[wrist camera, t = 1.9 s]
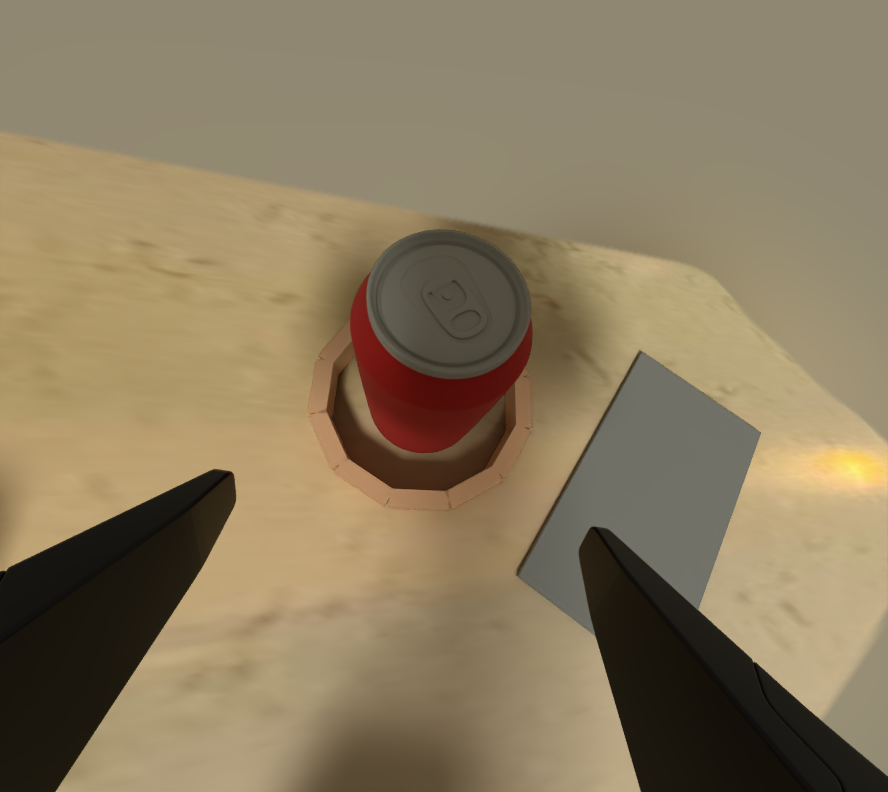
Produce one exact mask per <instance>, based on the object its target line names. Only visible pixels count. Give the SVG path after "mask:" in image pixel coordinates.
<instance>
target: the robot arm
mask: <svg viewBox="0 0 888 792" xmlns="http://www.w3.org/2000/svg"><path fill="white" fill-rule="evenodd" d="M235 502H236V488H235V478H234V474H233V473H232V472H231V471H226V470H219V469H213V470H211V471H208V472H206V473H204V474H202V475H200V476H198V477H196V478H194V479H192V480H190V481H188V482H185V483H183V484H181V485H179V486H177V487H175V488H173V489H171V490H169V491H167V492H165V493H163V494H161V495H158V496H156V497H154V498H152V499H150V500H148V501H146V502H144V503H142V504H140V505H138V506H136V507H134V508H131V509H129V510H127V511H125V512H123V513H121V514H119V515H117V516H115V517H113V518H111V519H109V520H107V521H104V522H102V523H100V524H98V525H96V526H94V527H92V528H90V529H88V530H86V531H84V532H82V533H79V534H77V535H75V536H73V537H71V538H69V539H67V540H65V541H63V542H61V543H59V544H57V545H55V546H52V547H50V548H48V549H46V550H44V551H42V552H40V553H38V554H36V555H34V556H32V557H30V558H28V559H25V560H23V561H21V562H19V563H17V564H15V565H13V566H11V567H9V568H8V569H7V570H6V571H0V792H56V790H57V789H58V787H59V786H60V784H61V783H62V781H63V780H64V778H65V776H66V775H67V773H68V772H69V770H70V769H71V767H72V766H73V764H74V763H75V761H76V760H77V758H78V757H79V755H80V754H81V752H82V751H83V749H84V747H85V746H86V744H87V743H88V741H89V740H90V738H91V737H92V735H93V734H94V732H95V731H96V729H97V728H98V726H99V725H100V723H101V722H102V720H103V719H104V717H105V715H106V714H107V712H108V711H109V709H110V708H111V706H112V705H113V703H114V702H115V700H116V699H117V697H118V696H119V694H120V693H121V691H122V690H123V688H124V686H125V685H126V683H127V682H128V680H129V679H130V677H131V676H132V674H133V673H134V671H135V670H136V668H137V667H138V665H139V664H140V662H141V661H142V659H143V657H144V656H145V654H146V653H147V651H148V650H149V648H150V647H151V645H152V644H153V642H154V641H155V639H156V638H157V636H158V635H159V633H160V632H161V630H162V629H163V627H164V625H165V624H166V622H167V621H168V619H169V618H170V616H171V615H172V613H173V612H174V610H175V609H176V607H177V606H178V604H179V603H180V601H181V600H182V598H183V596H184V595H185V593H186V592H187V590H188V589H189V587H190V586H191V584H192V583H193V581H194V580H195V578H196V577H197V575H198V573H199V572H200V570H201V569H202V567H203V565H204V563H205V561H206V560H207V558H208V556H209V554H210V552H211V550H212V548H213V546H214V544H215V542H216V540H217V539H218V537H219V535H220V533H221V531H222V529H223V527H224V525H225V523H226V521H227V519H228V517H229V515H230V514H231V512H232V510H233V508H234V505H235ZM578 554H579V561H580V566H581V572H582V577H583V582H584V587H585V593H586V598H587V603H588V608H589V613H590V617H591V621H592V625H593V629H594V632H595V635H596V639H597V642H598V646H599V649H600V653H601V656H602V659H603V663H604V666H605V670H606V673H607V677H608V680H609V684H610V687H611V690H612V694H613V697H614V701H615V704H616V708H617V711H618V714H619V718H620V721H621V725H622V728H623V732H624V735H625V738H626V742H627V745H628V749H629V752H630V756H631V759H632V763H633V766H634V769H635V773H636V776H637V780H638V783H639V787H640V790H641V792H888V776H887V775H885V774H884V773H883V772H882V771H881V770H880V769H878V768H877V767H876V766H875V765H873V764H872V763H871V762H870V761H869V760H867V759H866V758H865V757H864V756H863V755H862V754H860V753H859V752H858V751H857V750H856V749H854V748H853V747H852V746H850V744H848V743H847V742H846V741H845V740H844V739H842V738H841V737H840V736H839V735H838V734H836V733H835V732H834V731H833V730H832V729H830V728H829V727H828V726H827V725H826V724H825V723H824V722H822V721H821V720H820V719H819V718H818V717H817V716H815V715H814V714H813V713H812V712H811V711H809V710H808V709H807V708H806V707H805V706H804V705H803V704H802V703H800V702H799V701H798V700H797V699H796V698H795V697H794V696H793V695H791V694H790V693H789V692H788V691H787V690H786V689H785V688H784V687H782V686H781V685H780V684H779V683H778V682H777V681H776V680H775V679H773V678H772V677H771V676H770V675H769V674H768V673H767V672H766V671H765V670H764V669H763V668H761V667H760V666H759V665H758V664H757V663H755V662H753V660H752V659H751V658H750V657H749V656H748V655H747V654H746V653H745V652H744V651H743V650H741V649H740V648H739V647H738V646H737V645H736V644H735V643H734V642H733V641H732V640H730V639H729V638H728V637H727V636H726V635H725V634H724V633H723V632H722V631H721V630H719V629H718V628H717V627H716V626H715V625H714V624H713V623H712V622H711V621H710V620H708V619H707V618H706V617H705V616H704V615H703V614H702V613H701V612H700V611H699V610H697V609H696V608H695V607H694V606H693V605H692V604H691V603H690V602H689V601H688V600H686V599H685V598H684V597H683V596H682V595H681V594H680V593H679V592H678V591H677V590H675V589H674V588H673V587H672V586H671V585H670V584H669V583H668V582H667V581H665V580H664V579H663V578H662V577H661V576H660V575H659V574H658V573H657V572H656V571H654V570H653V569H652V568H651V567H650V566H649V565H648V564H647V563H646V562H645V561H643V560H642V559H641V558H640V557H639V556H638V555H637V554H636V553H635V552H634V551H632V550H631V549H630V548H629V547H628V546H627V545H626V544H625V543H624V542H623V541H621V540H620V539H619V538H618V537H617V536H616V535H615V534H614V533H613V532H612V531H610V530H609V529H607V528H603V527H597V526H592V527H591V528H589V530H588V532H587V534H586V536H585V537H584V539H583V541H582V543H581V545H580V547H579V552H578Z"/></svg>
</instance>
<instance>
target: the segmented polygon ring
mask: <svg viewBox="0 0 888 792" xmlns="http://www.w3.org/2000/svg"><path fill="white" fill-rule="evenodd" d="M318 356H319V358H320V359H316V363H315V369H314V374H313V380H312V386H311V392H310V398H309V404H308V410H307V412H308V413H309V414H310V416H308V418H309V420H310V423H311V425H312V427H313V430H314V432H315V434H316V437H317V439H318V441H319V443H320V446H321V448H322V450H323V453H324V455H325V457H326V460H327V462H328V464H329V467H330V469H332V470H333V471H335V472H334V473H335V474H336V475H338V476H339V477H341V478H342V479H344V480H345V481H347V482H348V483H349V484H351V485H352V486H354V487H355V488H357V489H358V490H360V491H361V492H363V493H364V494H366V495H367V496H369V497H370V498H372V499H373V500H375V501H376V502H378V503H379V504H381V505H382V506H384V507H385V505H386V504H387V502H388V501H389V508H398V509H423V510H448V511H449V509H455V508H457V507H458V506H460V505H462V504H464V503H465V502H467V501H469V500H471V499H472V498H474V497H476V496H478V495H480V494H481V493H483V492H485V491H487V490H488V489H490V488H492V487H494V486H495V485H497V484H499V483H501V482H503V481H502V479H505V478H506V477H507V476H508V474H509V472H510V470H511V468H512V466H513V465H514V463H515V461H516V459H517V457H518V455H519V454H520V452H521V450H522V448H523V446H524V444H525V443H526V441H527V439H528V437H529V435H530V433H531V431H529V429H531V428H532V408H531V385H530V378H529V377H526V376H527V375H528V374H529V373H528V371H527V370H526V368H524V370H523V372H522V373H521V375H520V377H519V378H518V379H517V380H516V382H515V383H514V384H513V385H512V386H511V387H510V388H509V390H508V391H507V392H506V393H505V405H506V432H505V434H504V436H503V437H502V439H501V441H500V443H499V444H498V446H497V448H496V450H495V451H494V453H493V455H492V457H491V458H490V460H489V462H488V464H487V465H486V467H485V469H484V470H483V471H481V472H479V473H477V474H475V475H474V476H472V477H470V478H468V479H466V480H464V481H463V482H461V483H459V484H457V485H455V486H453V487H452V488H450V489H448V490H446V491H433V490H411V489H392V488H391V487H389V486H388V485H386V484H385V483H383V482H382V481H380V480H379V479H377V478H376V477H374V476H373V475H371V474H370V473H368V472H367V471H365V470H364V469H362V468H361V467H360V466H358V465H357V464H355V463H354V462H352V461H351V460H350V458H349V456H348V453H347V451H346V449H345V447H344V445H343V442H342V440H341V438H340V436H339V433H338V431H337V429H336V427H335V424H334V422H333V420H332V418H333V411H334V404H335V397H336V390H337V383H338V376H339V374H340V373H341V371H342V370H343V369H344V368H345V367H346V365H347V364H348V363H349V362H350V361H351V359H352V358H353V357H354V356H355V351H354V347H353V343H352V339H351V332H350V319H349V320H348V321H347V322H346V323H345V325H344V326H343V327H342V328H341V329H340V330H339V332H338V333H337V334H336V335H335V336H334V337H333V338H332V340H331V341H330V342H329V343H328V344H327V345H326V346H325V348H324V349H323V350H322V351H321V352H320V353H319V354H318Z"/></svg>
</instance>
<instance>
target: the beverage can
mask: <svg viewBox="0 0 888 792" xmlns="http://www.w3.org/2000/svg"><path fill="white" fill-rule="evenodd" d="M350 332H351V339H352V343H353V347H354V351H355V356H356V360H357V364H358V368H359V373H360V376H361V380H362V384H363V388H364V392H365V395H366V399H367V402H368V406H369V409H370V412H371V415H372V418H373V421H374V423H375V425H376V426H377V428H378V430H379V431H380V432H381V433H382V435H383V436H384V437H385V438H386V439H387V440H389V441H390V442H391V443H393V444H394V445H396V446H398V447H400V448H402V449H404V450H407V451H411V452H416V453H433V452H438V451H441V450H444V449H446V448H448V447H450V446H452V445H454V444H455V443H456V442H458V441H459V440H460V439H461V438H462V437H463V436H464V435H465V434H467V433H468V432H469V431H470V430H471V429H472V428H473V427H474V426H475V425H476V424H477V423H478V422H479V421H480V420H481V418H482V417H483V416H484V415H485V414H486V413H487V412H488V411H489V410H490V409H491V408H492V407H493V406H494V405H495V404H496V403H497V402H498V401H499V399H500V398H501V397H502V396H503V395H504V394H505V393H506V392H507V391H508V390H509V388H510V387H511V386H512V385H513V384H514V383H515V382H516V380H517V379H518V378H519V377H520V375H521V373H522V372H523V370H524V368H525V366H526V364H527V361H528V359H529V355H530V352H531V346H532V322H531V302H530V295H529V291H528V288H527V285H526V282H525V280H524V278H523V276H522V274H521V273H520V271H519V269H518V268H517V267H516V265H515V264H514V263H513V262H512V260H511V259H510V258H509V257H508V256H507V255H506V254H504V253H503V252H502V251H501V250H500V249H498V248H497V247H495V246H494V245H492V244H491V243H489V242H487V241H485V240H483V239H481V238H479V237H477V236H474V235H471V234H468V233H465V232H460V231H454V230H428V231H423V232H418V233H415V234H412V235H409V236H407V237H405V238H403V239H401V240H399V241H397V242H396V243H394V244H393V245H392V246H390V247H389V248H388V249H387V250H386V251H385V252H384V253H383V254H382V255H381V256H380V257H379V259H378V260H377V261H376V263H375V265H374V267H373V269H372V271H371V272H370V274H369V275H368V276H367V277H366V278H365V280H364V281H363V283H362V284H361V286H360V288H359V290H358V292H357V294H356V296H355V299H354V301H353V305H352V309H351V315H350Z"/></svg>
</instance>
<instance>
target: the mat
mask: <svg viewBox="0 0 888 792" xmlns="http://www.w3.org/2000/svg"><path fill="white" fill-rule="evenodd" d="M760 435H761V432H759V431H758V430H756V429H755V428H753V427H752V426H750V425H749V424H747V423H746V422H745V421H743V420H742V419H740V418H739V417H737V416H736V415H734V414H733V413H731V412H730V411H728V410H727V409H725V408H724V407H722V406H721V405H720V404H718V403H717V402H715V401H714V400H712V399H711V398H709V397H708V396H706V395H705V394H703V393H702V392H700V391H699V390H697V389H696V388H694V387H693V386H692V385H690V384H689V383H687V382H686V381H684V380H683V379H681V378H680V377H678V376H677V375H675V374H674V373H672V372H671V371H669V370H668V369H667V368H665V367H664V366H662V365H661V364H659V363H658V362H656V361H655V360H653V359H652V358H650V357H649V356H647V355H646V354H644V353H643V352H641V353H640V354H639V355H638V357H637V359H636V361H635V363H634V364H633V366H632V368H631V370H630V372H629V373H628V375H627V377H626V379H625V381H624V382H623V384H622V386H621V388H620V390H619V391H618V393H617V395H616V397H615V399H614V400H613V402H612V404H611V406H610V408H609V409H608V411H607V413H606V415H605V417H604V418H603V420H602V422H601V424H600V426H599V427H598V429H597V431H596V433H595V435H594V436H593V438H592V440H591V442H590V444H589V445H588V447H587V449H586V451H585V453H584V454H583V456H582V458H581V460H580V462H579V463H578V465H577V467H576V469H575V471H574V472H573V474H572V476H571V478H570V480H569V482H568V483H567V485H566V487H565V489H564V491H563V492H562V494H561V496H560V498H559V500H558V501H557V503H556V505H555V507H554V509H553V510H552V512H551V514H550V516H549V518H548V519H547V521H546V523H545V525H544V527H543V528H542V530H541V532H540V534H539V536H538V537H537V539H536V541H535V543H534V545H533V546H532V548H531V550H530V552H529V554H528V555H527V557H526V559H525V561H524V563H523V564H522V566H521V568H520V570H519V572H518V573H517V575H516V576H518V577H519V578H520V579H522V580H523V581H524V582H526V583H527V584H528V585H530V586H531V587H532V588H533V589H535V590H536V591H537V592H539V593H540V594H541V595H543V596H544V597H545V598H547V599H548V600H549V601H550V602H552V603H553V604H554V605H556V606H557V607H558V608H560V609H561V610H562V611H564V612H565V613H566V614H568V615H569V616H570V617H571V618H573V619H574V620H575V621H577V622H578V623H579V624H581V625H582V626H583V627H585V628H586V629H587V630H588V631H590V632H591V633H592V634H594V635H595V632H594V629H593V625H592V621H591V617H590V613H589V608H588V603H587V598H586V593H585V587H584V582H583V577H582V572H581V566H580V561H579V554H578V552H579V547H580V545H581V543H582V541H583V539H584V537H585V536H586V534H587V532H588V530H589V528H591V527H592V526H597V527H603V528H607V529H609V530H610V531H612V532H613V533H614V534H615V535H616V536H617V537H618V538H619V539H620V540H621V541H623V542H624V543H625V544H626V545H627V546H628V547H629V548H630V549H631V550H632V551H634V552H635V553H636V554H637V555H638V556H639V557H640V558H641V559H642V560H643V561H645V562H646V563H647V564H648V565H649V566H650V567H651V568H652V569H653V570H654V571H656V572H657V573H658V574H659V575H660V576H661V577H662V578H663V579H664V580H665V581H667V582H668V583H669V584H670V585H671V586H672V587H673V588H674V589H675V590H677V591H678V592H679V593H680V594H681V595H682V596H683V597H684V598H685V599H686V600H688V601H689V602H690V603H691V604H692V605H693V606H694V607H695V608H696V609H697V610H698V608H699V606H700V603H701V600H702V597H703V594H704V592H705V589H706V586H707V583H708V580H709V578H710V575H711V572H712V569H713V566H714V564H715V561H716V558H717V555H718V552H719V550H720V547H721V544H722V541H723V538H724V535H725V533H726V530H727V527H728V524H729V521H730V519H731V516H732V513H733V510H734V507H735V505H736V502H737V499H738V496H739V493H740V491H741V488H742V485H743V482H744V479H745V477H746V474H747V471H748V468H749V465H750V463H751V460H752V457H753V454H754V451H755V449H756V446H757V443H758V440H759V437H760ZM595 636H596V635H595Z"/></svg>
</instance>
